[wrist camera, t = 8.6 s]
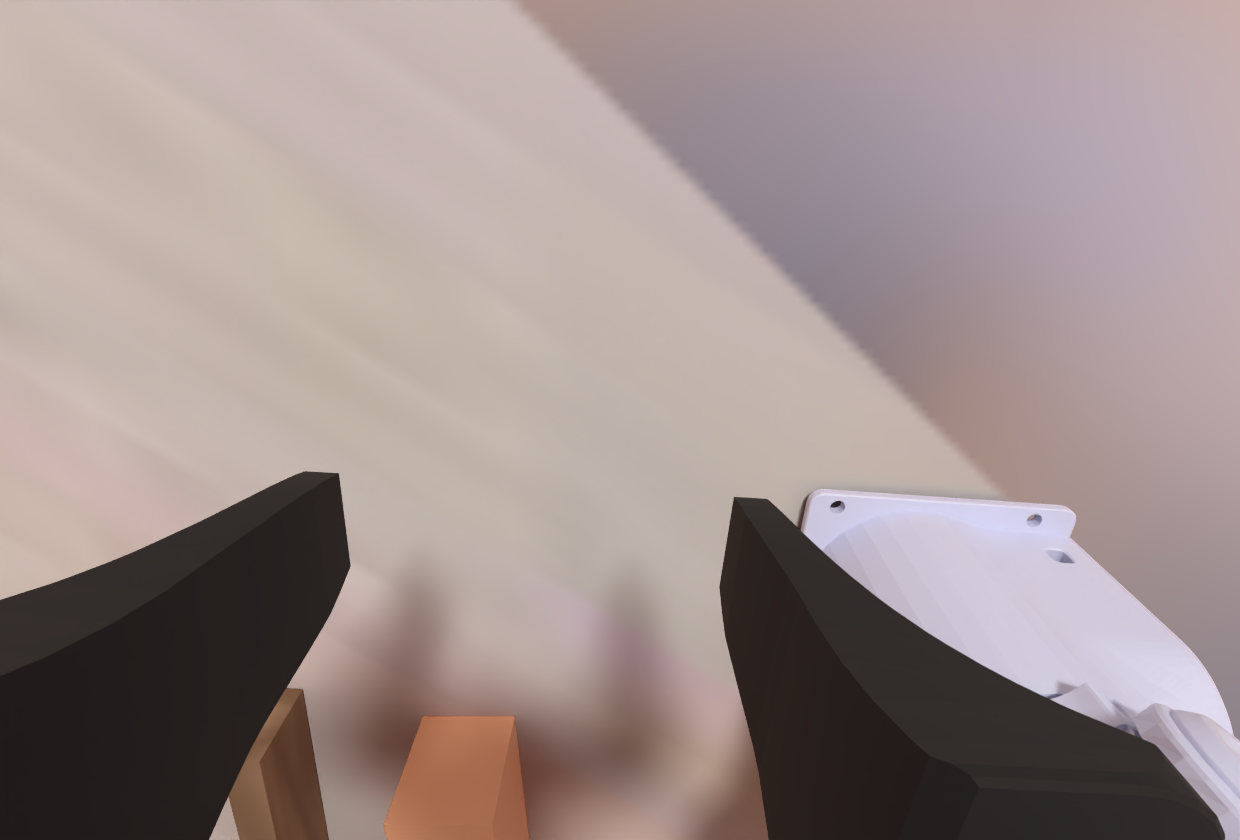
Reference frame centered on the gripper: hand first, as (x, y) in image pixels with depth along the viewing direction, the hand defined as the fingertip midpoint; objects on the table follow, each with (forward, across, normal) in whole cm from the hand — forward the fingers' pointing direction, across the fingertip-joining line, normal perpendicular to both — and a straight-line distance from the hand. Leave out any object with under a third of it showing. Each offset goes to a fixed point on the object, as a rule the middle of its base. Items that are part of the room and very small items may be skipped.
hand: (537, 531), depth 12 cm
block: (+10, +4, +21) cm, 24 cm away
